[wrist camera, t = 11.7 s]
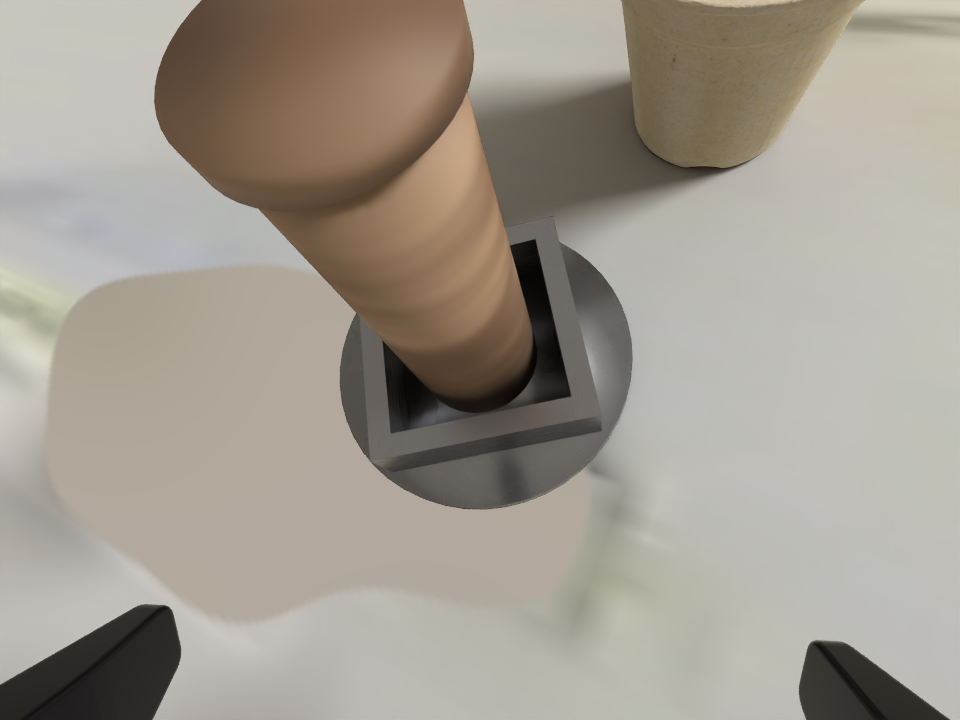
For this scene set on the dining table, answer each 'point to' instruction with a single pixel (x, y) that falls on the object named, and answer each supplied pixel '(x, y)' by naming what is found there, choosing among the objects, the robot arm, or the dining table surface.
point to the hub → (519, 424)
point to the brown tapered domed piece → (362, 170)
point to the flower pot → (724, 71)
